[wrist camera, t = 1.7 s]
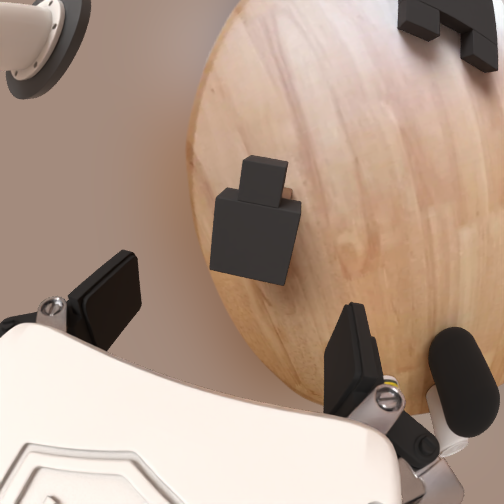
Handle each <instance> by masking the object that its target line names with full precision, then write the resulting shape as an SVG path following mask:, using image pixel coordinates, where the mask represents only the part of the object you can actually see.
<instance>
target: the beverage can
mask: <svg viewBox="0 0 504 504" xmlns="http://www.w3.org/2000/svg"><path fill="white" fill-rule="evenodd" d="M426 399H427V403H428V407H429V411H430V415H431V419H432V424H433V428H434V433H435V437H436V438H437V440H438V442H439V445H440V453H439V454H440V457H446V456H449V455H452V454H454V453H456V452H458V451H460V450H462V449H463V448H465V447H466V446H467V445H468V438H464V437H460V436H458V435H456V434H454V433H453V432H452V431H451V430H450V429H449V427H448V425H447V423H446V420H445V417H444V413H443V409H442V405H441V402H440V398H439V395H438V392H437V388H436V385H433V386H432V387H431V388H430V389H429V390H428V392H427V394H426Z"/></svg>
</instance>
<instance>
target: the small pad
mask: <svg viewBox="0 0 504 504" xmlns="http://www.w3.org/2000/svg"><path fill="white" fill-rule="evenodd" d="M287 167H288V162H287V161H282V160H277V159H271V158H265V157H260V156H254V155H251V156H249V157H247V158H246V159H244V160H243V163H242V170H241V177H240V185H239V190H238V189H233V188H226V189H225V190H224V191H222V192H221V193H220V194H219V195H218V196H217V197H216V201H215V211H214V221H213V232H212V244H211V256H210V270H214V271H218V272H222V273H227V274H231V275H236V276H240V277H245V278H249V279H254V280H259V281H263V282H268V283H273V284H277V285H282V286H284V284H285V280H286V276H287V272H288V268H289V264H290V260H291V256H292V251H293V247H294V243H295V239H296V234H297V230H298V225H299V221H300V216H301V202H300V201H295V200H291V199H286V198H282V194H283V189H284V183H285V178H286V172H287Z"/></svg>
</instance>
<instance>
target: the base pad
mask: <svg viewBox="0 0 504 504" xmlns="http://www.w3.org/2000/svg"><path fill="white" fill-rule="evenodd" d="M398 4H399V5H398V27H397V28H398V29H399V30H402V31H405V32H407V33H410V34H412V35H414V36H417V37H419V38H421V39H424V40H426V41H428V42H429V41H431V40H433V39H434V38H436V37H438V36H440V23H441V24H443V25H445V26H447V27H449V28H451V29H452V30H454V31H456V32H458V33H460V34H461V59H463V60H465V61H466V62H468V63H470V64H471V65H473V66H475V67H476V68H478V69H479V70H481V71H482V72H484V73H487V72H493V71H498V47H497V31H496V22H495V14H494V7H493V1H492V0H398Z"/></svg>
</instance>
